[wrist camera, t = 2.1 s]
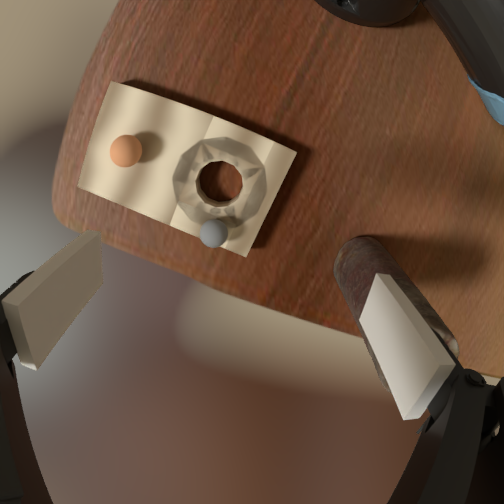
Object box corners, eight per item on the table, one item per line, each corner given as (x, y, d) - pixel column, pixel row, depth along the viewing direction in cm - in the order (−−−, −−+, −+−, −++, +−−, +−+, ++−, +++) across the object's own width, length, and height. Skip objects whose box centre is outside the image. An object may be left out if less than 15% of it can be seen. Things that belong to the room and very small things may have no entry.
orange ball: (113, 141, 31) (99, 143, 27) (140, 129, 30) (128, 130, 27) (123, 169, 32) (110, 174, 29) (150, 158, 32) (139, 162, 28)
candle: (369, 293, 41) (429, 402, 22) (321, 280, 40) (365, 398, 22) (393, 244, 38) (478, 336, 20) (344, 226, 37) (417, 322, 19)
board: (87, 182, 35) (77, 186, 33) (119, 83, 30) (111, 80, 28) (246, 248, 38) (246, 257, 36) (294, 150, 34) (297, 152, 31)
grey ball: (198, 220, 34) (193, 229, 32) (223, 212, 34) (221, 220, 31) (207, 244, 35) (203, 255, 33) (232, 237, 35) (230, 247, 32)
